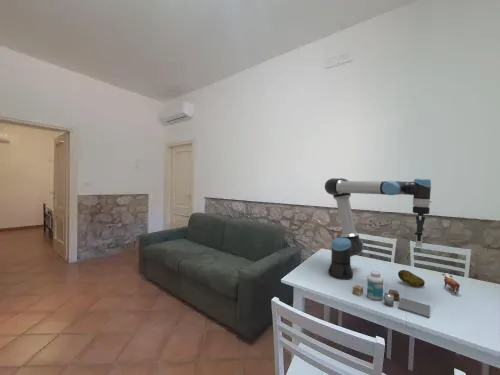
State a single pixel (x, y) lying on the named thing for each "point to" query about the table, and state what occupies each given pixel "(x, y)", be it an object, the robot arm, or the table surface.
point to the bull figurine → (451, 283)
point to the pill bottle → (375, 286)
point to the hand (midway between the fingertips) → (419, 244)
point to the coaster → (414, 307)
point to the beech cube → (357, 290)
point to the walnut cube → (395, 294)
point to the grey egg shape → (389, 299)
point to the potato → (410, 278)
